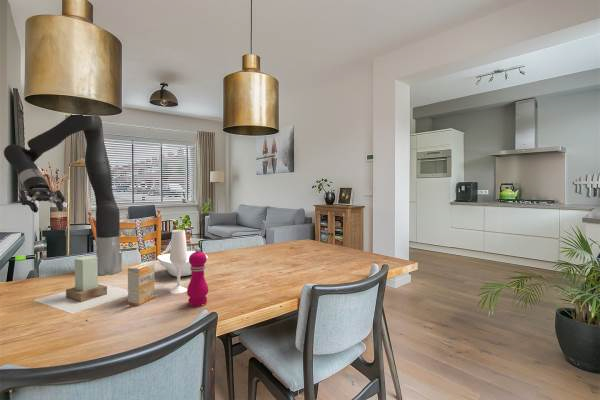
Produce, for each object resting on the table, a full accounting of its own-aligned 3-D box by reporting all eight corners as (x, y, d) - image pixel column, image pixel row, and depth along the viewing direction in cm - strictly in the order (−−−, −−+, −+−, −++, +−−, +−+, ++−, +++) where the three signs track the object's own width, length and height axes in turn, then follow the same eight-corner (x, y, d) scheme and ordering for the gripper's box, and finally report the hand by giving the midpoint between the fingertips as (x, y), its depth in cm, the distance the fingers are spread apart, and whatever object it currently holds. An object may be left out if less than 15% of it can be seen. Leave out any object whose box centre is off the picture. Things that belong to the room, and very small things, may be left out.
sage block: (89, 284, 115) (89, 255, 114) (97, 287, 112) (97, 257, 112) (75, 288, 110) (74, 258, 110) (83, 291, 108) (82, 260, 108)
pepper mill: (197, 308, 104) (197, 250, 103) (182, 304, 108) (182, 248, 107) (212, 301, 111) (212, 247, 110) (198, 298, 114) (198, 244, 113)
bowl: (152, 273, 145) (152, 255, 144) (194, 266, 159) (195, 249, 158) (167, 284, 129) (167, 264, 129) (213, 275, 143) (213, 257, 143)
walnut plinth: (92, 290, 118) (92, 282, 117) (107, 294, 114) (106, 286, 113) (66, 297, 109) (65, 289, 109) (80, 302, 106) (80, 293, 105)
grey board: (98, 285, 127) (98, 282, 127) (136, 294, 116) (136, 292, 116) (33, 302, 107) (33, 300, 107) (72, 316, 96) (72, 313, 96)
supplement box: (139, 306, 106) (139, 268, 105) (127, 304, 107) (127, 267, 106) (155, 297, 114) (155, 262, 113) (143, 296, 115) (143, 261, 114)
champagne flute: (167, 293, 118) (167, 232, 117) (172, 288, 124) (171, 229, 123) (185, 293, 119) (185, 231, 118) (189, 287, 125) (189, 229, 124)
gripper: (15, 175, 121) (31, 205, 117) (56, 176, 134) (72, 203, 130) (9, 188, 124) (24, 218, 119) (50, 188, 137) (65, 215, 132)
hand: (49, 210), depth 125 cm, fingers open, 8 cm apart
